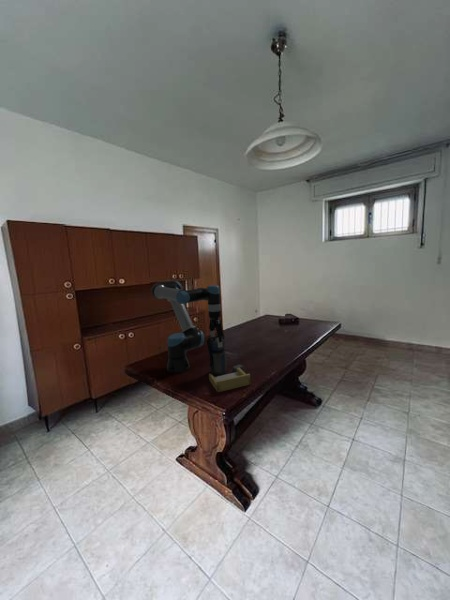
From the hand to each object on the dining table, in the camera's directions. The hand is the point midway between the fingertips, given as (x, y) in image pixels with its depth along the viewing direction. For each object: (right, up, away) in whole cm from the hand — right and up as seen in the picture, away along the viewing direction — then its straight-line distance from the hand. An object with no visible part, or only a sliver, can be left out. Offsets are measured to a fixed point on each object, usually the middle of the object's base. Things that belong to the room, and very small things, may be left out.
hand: (216, 343), depth 156 cm
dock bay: (+8, -21, -9) cm, 24 cm away
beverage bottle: (+1, -19, +3) cm, 20 cm away
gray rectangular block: (+14, -19, +5) cm, 24 cm away
